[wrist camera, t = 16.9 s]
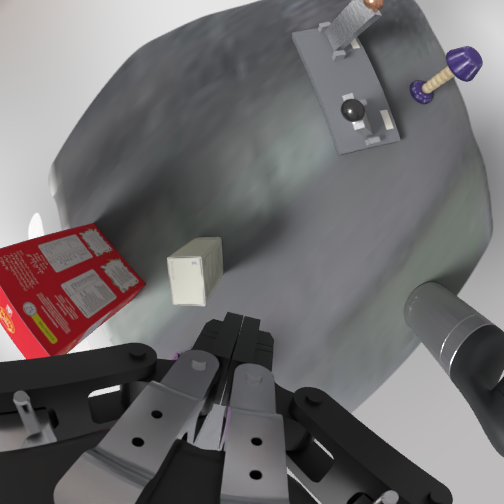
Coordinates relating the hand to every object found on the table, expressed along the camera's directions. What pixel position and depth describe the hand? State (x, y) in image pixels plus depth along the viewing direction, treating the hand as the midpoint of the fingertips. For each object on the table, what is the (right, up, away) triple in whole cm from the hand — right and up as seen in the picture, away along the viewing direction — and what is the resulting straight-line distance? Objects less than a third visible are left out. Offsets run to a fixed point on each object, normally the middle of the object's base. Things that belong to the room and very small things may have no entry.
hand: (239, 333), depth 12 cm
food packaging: (-25, +2, +34) cm, 42 cm away
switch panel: (+15, +29, +24) cm, 40 cm away
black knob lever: (+17, +22, +23) cm, 36 cm away
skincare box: (-6, +3, +32) cm, 33 cm away
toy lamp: (+28, +30, +22) cm, 47 cm away
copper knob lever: (+12, +35, +20) cm, 42 cm away
